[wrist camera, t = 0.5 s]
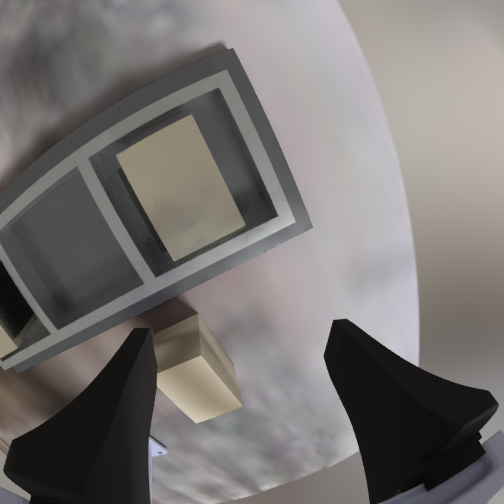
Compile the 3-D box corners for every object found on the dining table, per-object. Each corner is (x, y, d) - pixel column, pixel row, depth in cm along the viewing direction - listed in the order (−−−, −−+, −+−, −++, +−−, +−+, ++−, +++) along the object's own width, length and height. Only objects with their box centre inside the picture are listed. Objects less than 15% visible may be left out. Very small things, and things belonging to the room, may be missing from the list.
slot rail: (20, 367, 20) (3, 400, 15) (-52, 259, 15) (-82, 281, 10) (307, 223, 20) (339, 246, 16) (230, 52, 15) (243, 23, 11)
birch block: (193, 380, 23) (196, 423, 19) (154, 333, 21) (148, 376, 17) (233, 363, 24) (243, 406, 19) (198, 312, 21) (201, 355, 17)
